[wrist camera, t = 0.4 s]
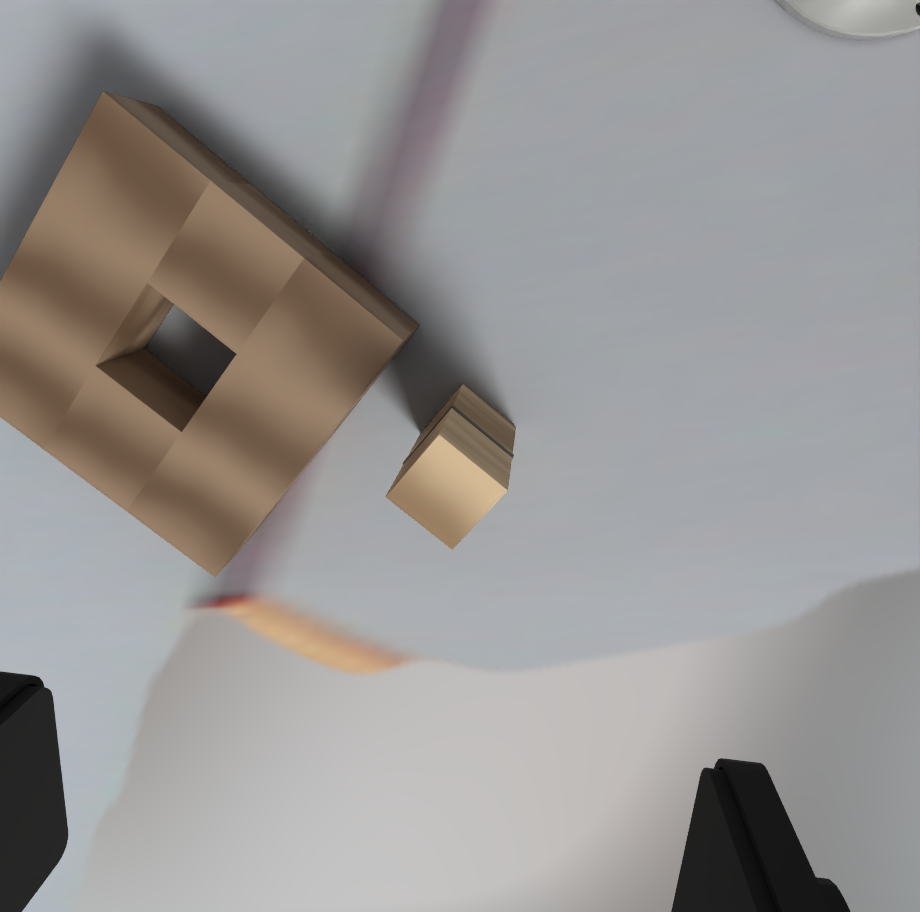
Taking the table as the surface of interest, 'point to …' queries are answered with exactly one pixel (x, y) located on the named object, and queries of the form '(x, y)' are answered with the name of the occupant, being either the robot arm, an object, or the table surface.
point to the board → (208, 303)
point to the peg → (456, 468)
